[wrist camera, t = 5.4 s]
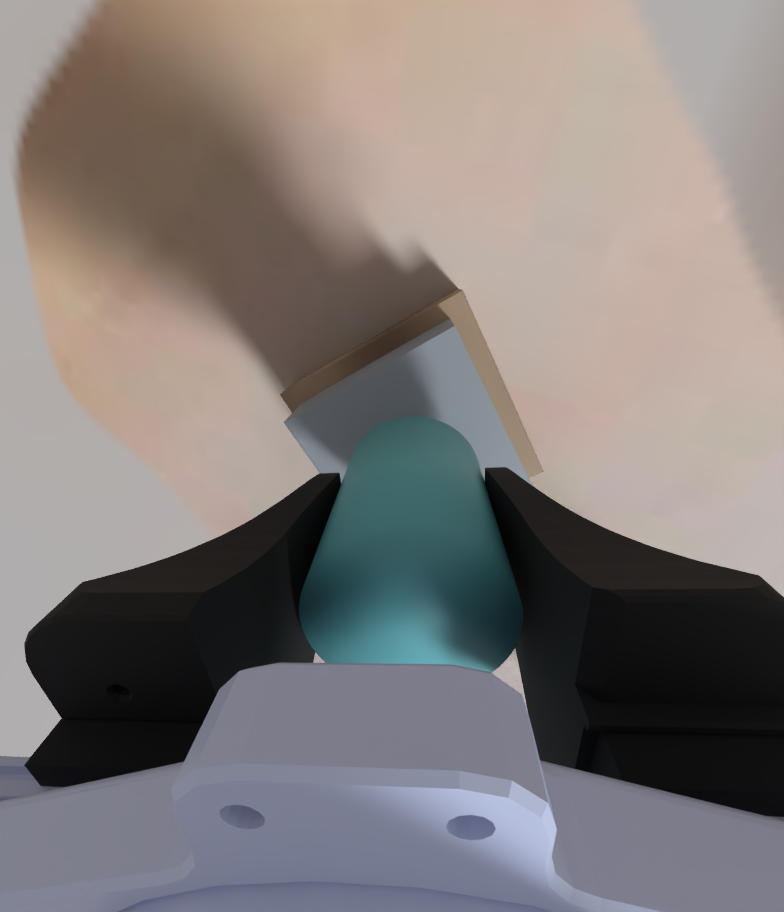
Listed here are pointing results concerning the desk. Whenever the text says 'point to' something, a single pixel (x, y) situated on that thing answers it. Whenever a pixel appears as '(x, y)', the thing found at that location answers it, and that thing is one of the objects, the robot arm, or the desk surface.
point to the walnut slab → (407, 330)
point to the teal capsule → (412, 557)
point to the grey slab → (405, 403)
